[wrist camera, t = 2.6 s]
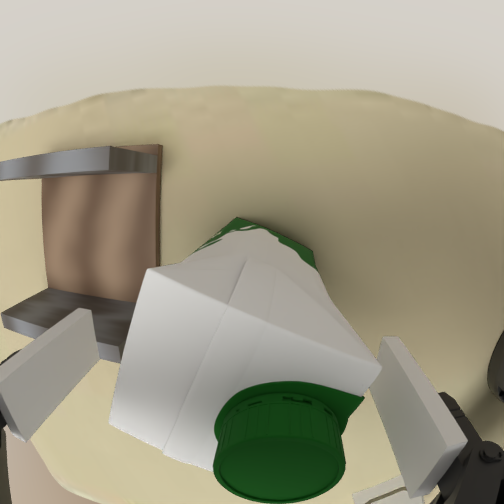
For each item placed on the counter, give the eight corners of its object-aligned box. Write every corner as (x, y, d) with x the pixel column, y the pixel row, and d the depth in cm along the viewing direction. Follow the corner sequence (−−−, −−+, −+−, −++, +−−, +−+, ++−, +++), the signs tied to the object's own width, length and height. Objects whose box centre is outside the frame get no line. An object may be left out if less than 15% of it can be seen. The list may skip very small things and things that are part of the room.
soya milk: (283, 330, 28) (281, 533, 8) (193, 290, 27) (69, 453, 8) (326, 245, 26) (434, 394, 6) (229, 201, 25) (89, 252, 6)
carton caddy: (162, 145, 25) (111, 130, 16) (162, 325, 29) (123, 374, 20) (48, 155, 26) (-12, 153, 17) (56, 305, 30) (6, 336, 21)
